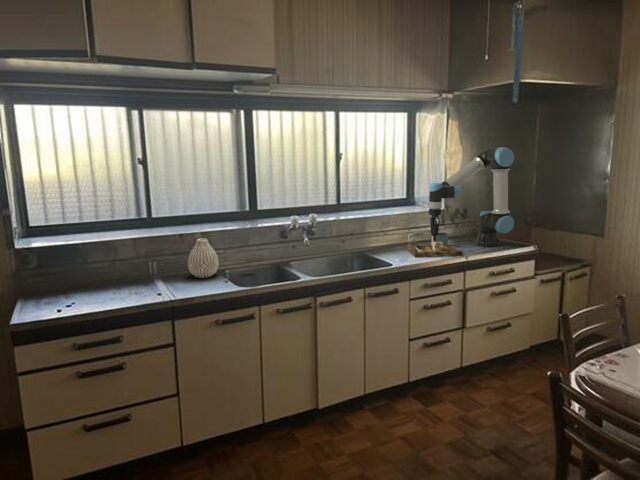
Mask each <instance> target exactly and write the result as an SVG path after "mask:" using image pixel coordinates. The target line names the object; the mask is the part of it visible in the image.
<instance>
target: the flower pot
mask: <svg viewBox="0 0 640 480" xmlns="http://www.w3.org/2000/svg"><path fill="white" fill-rule="evenodd" d="M449 238H450V234H449V233H447V232H438V235H437V242H438V241H441V242H442V243H443V245H449V240H450V239H449Z"/></svg>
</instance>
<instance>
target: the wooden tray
mask: <svg viewBox="0 0 640 480" xmlns="http://www.w3.org/2000/svg"><path fill="white" fill-rule="evenodd" d="M407 245H408V246H407V252H408V253H410V254H411V255H412V256H413V257H414V258H441V257H443V256H452V257H463V250H460V249H458V248H457V247H455V246H453V244H447V245H443V251H434V250H433V249H432V248H433V246H432V244H425V245H412V244H411V243H408V244H407ZM443 258H444V257H443Z"/></svg>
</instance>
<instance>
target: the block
mask: <svg viewBox="0 0 640 480" xmlns="http://www.w3.org/2000/svg"><path fill="white" fill-rule="evenodd" d="M432 249H433V250H434V251H443V243H442V242H441V241H438V242H433V248H432Z"/></svg>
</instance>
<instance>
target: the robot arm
mask: <svg viewBox="0 0 640 480" xmlns="http://www.w3.org/2000/svg"><path fill="white" fill-rule="evenodd" d="M514 161H515V154H514V152H513V151H512V150H511V149H510V148H508V147H503V146H501V147H500V146H499V147H493V146H491V147H489V148H486V149H485V150H483V151H481V153H479V154H477V155H476V156H475V157H474V158H473V160H471V161H470V162H468V163H467V164H466V165H464V166H463V167H461V168H460V169H459V170H458V171H456V172H454V173H453V174H452V175H451V176H449V177H448V178H446V179H445V180H444V181H442V182H440V183H439V182H432V183H430V184H429V189H428V193H429V198H428V200H429V202H428V204H427V205H428V215H429V216H431V217H430V218H429V220H430V221H429V222H430V234H431V245H432V246H433V242H437V235H438V233H439V231H440V230H439V228H440V222H441V221H440V219H439V216H441V215H442V204H443V203H442V201H443V199H457V198H460V197H461V194H462V193H461V192H462V189H461V187H460V186H459V185H461V184H462V183H463V182H465V181H466V180H467V179H469V178H470V177H472V176H473V175H475V174H476V173H478V172H479V171H480V170H485V168H487V167H490V171H491V172H492V173H493V182H492V183H493V186H492V187H493V209H492V210H481V211H480V214H479V225H478V235H477V238H476V239H475V246H476V245H477V246H481V247H489V248H490V247H491V248H492V247H493V248H494V247H499V246H500V239H499V234H507V233H508V234H509V233H510V232H511V231H512V230H513V228H514V226H515V221H514V220H515V219H514V218H513V217H512V216H511V211H510V210H509V171H510V170H511V165H512V164H513V163H514Z"/></svg>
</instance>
